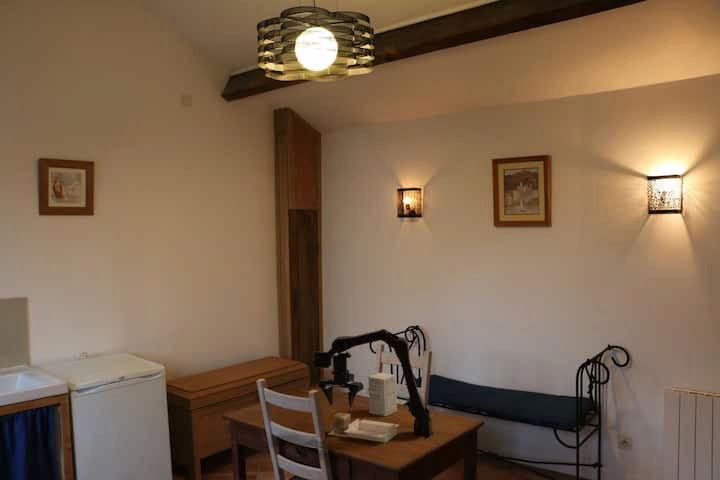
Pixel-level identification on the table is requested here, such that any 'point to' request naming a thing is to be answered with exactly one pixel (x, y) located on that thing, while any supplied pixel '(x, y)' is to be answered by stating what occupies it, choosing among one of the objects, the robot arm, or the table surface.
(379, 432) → the cream tray
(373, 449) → the table surface
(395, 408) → the supplement box
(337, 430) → the tea box
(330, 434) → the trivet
